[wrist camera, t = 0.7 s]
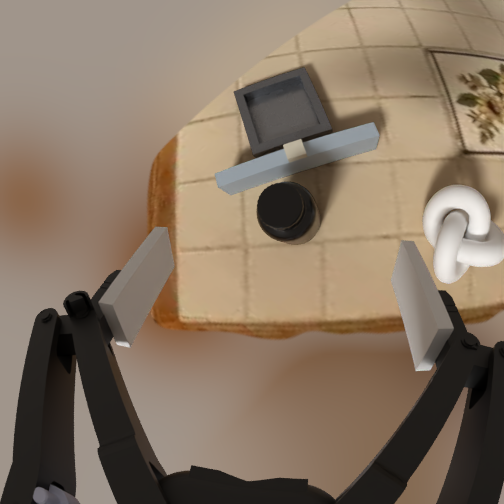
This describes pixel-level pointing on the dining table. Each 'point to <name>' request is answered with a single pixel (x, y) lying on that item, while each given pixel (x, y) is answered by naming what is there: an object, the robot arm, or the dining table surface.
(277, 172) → the door edge plank
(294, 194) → the supplement bottle
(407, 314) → the robot arm
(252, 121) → the keeper frame
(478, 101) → the dining table surface
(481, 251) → the white trefoil knot
